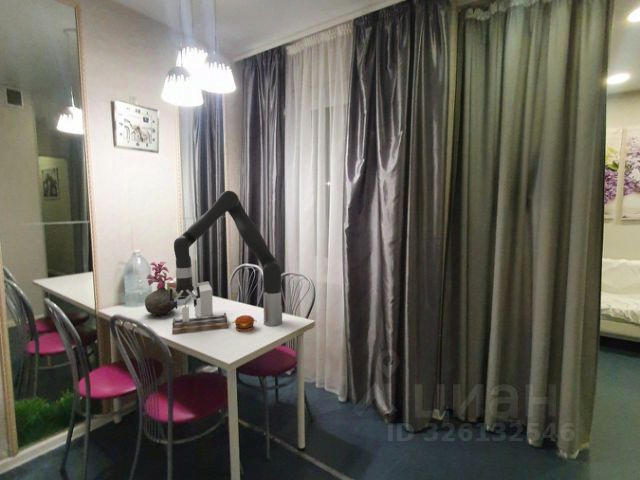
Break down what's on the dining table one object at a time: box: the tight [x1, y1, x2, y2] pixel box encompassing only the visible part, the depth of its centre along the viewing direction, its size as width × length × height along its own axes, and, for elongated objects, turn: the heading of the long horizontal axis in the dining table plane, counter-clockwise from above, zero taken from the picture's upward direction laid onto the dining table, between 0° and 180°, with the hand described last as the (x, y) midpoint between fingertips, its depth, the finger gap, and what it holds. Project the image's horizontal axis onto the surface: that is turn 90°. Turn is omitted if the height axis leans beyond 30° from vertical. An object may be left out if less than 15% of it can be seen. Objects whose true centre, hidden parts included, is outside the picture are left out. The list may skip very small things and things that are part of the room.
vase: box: [144, 261, 177, 317], centre depth 186 cm, size 17×17×30 cm
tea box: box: [166, 276, 192, 306], centre depth 211 cm, size 15×10×15 cm, turn 6°
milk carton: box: [193, 281, 214, 317], centre depth 186 cm, size 7×7×19 cm
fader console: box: [171, 312, 229, 335], centre depth 170 cm, size 26×14×4 cm, turn 111°
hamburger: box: [232, 314, 257, 333], centre depth 167 cm, size 9×10×7 cm
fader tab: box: [181, 304, 190, 322], centre depth 168 cm, size 3×4×9 cm, turn 21°
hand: (185, 307), depth 167 cm, fingers open, 8 cm apart
